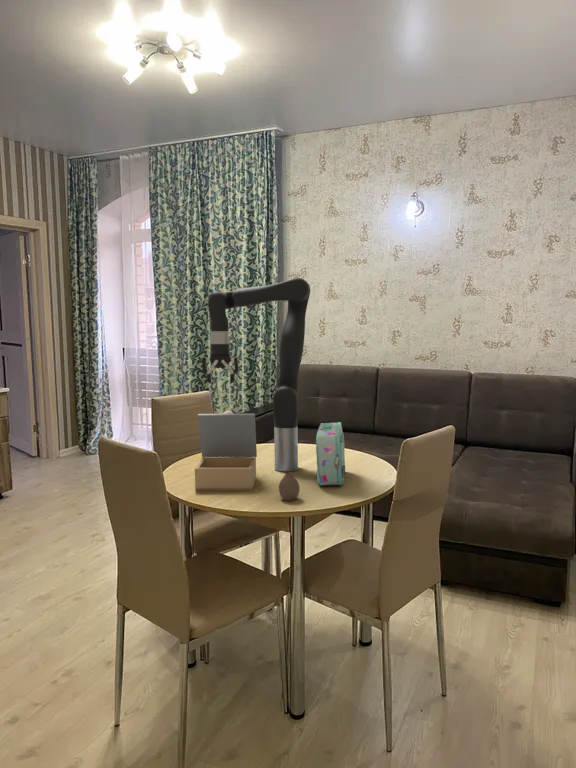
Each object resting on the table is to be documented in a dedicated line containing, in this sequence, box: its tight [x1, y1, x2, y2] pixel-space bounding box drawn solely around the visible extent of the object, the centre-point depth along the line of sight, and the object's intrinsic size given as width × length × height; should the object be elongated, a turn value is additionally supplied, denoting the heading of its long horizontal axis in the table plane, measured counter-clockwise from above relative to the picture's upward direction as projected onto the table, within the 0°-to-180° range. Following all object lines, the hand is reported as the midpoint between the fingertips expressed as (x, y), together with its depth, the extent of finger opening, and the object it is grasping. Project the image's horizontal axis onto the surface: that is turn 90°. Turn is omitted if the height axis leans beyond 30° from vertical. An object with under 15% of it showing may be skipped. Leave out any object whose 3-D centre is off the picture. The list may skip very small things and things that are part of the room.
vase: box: [278, 472, 300, 502], centre depth 186 cm, size 7×7×9 cm
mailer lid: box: [197, 409, 258, 458], centre depth 210 cm, size 21×18×7 cm
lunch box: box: [315, 421, 346, 486], centre depth 208 cm, size 27×10×21 cm, turn 175°
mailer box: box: [194, 457, 257, 492], centre depth 204 cm, size 20×16×8 cm
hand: (220, 383), depth 225 cm, fingers open, 8 cm apart
